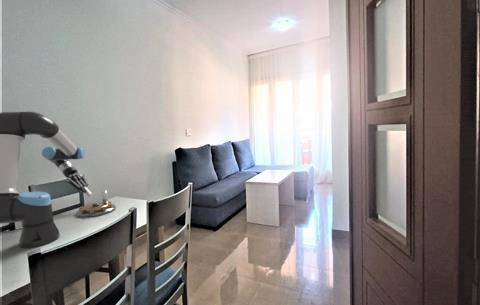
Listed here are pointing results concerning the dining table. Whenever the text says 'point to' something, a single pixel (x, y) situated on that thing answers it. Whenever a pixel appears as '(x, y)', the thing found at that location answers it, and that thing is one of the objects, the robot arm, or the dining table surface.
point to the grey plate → (87, 215)
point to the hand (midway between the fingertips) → (90, 195)
